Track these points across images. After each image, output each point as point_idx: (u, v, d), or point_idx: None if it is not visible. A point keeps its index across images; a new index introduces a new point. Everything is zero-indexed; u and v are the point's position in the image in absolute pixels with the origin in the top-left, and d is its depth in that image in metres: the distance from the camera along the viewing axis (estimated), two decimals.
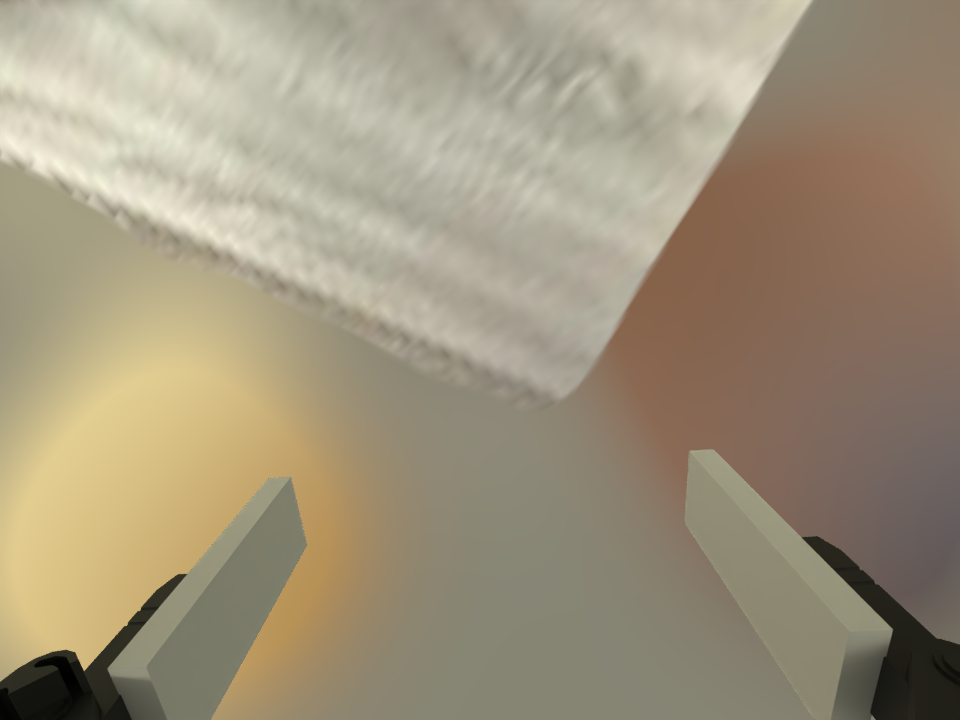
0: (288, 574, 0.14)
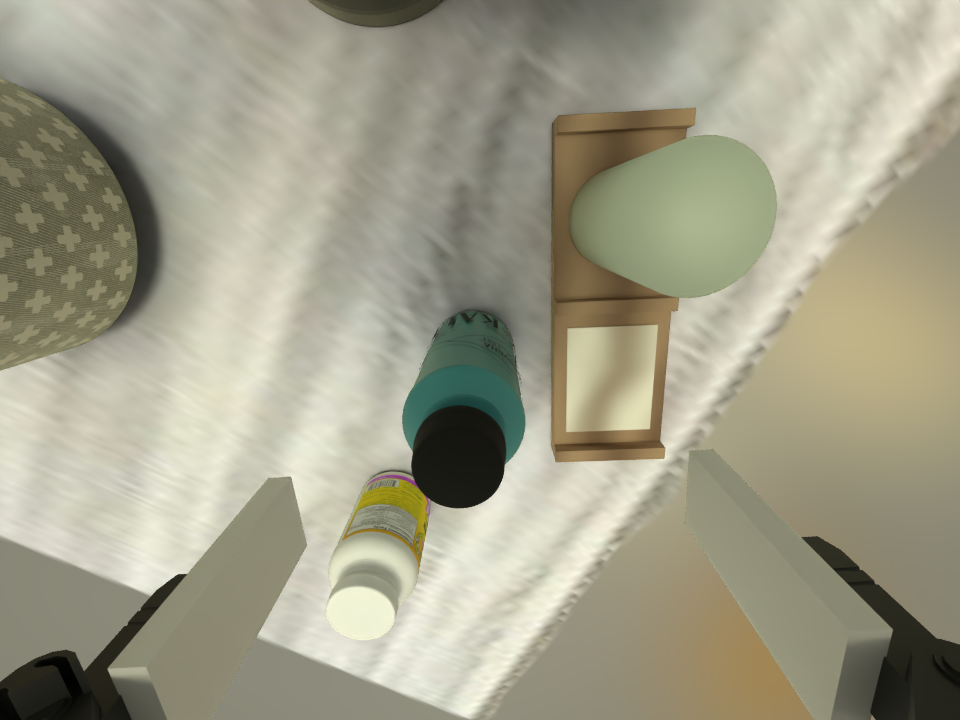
0: (288, 574, 0.14)
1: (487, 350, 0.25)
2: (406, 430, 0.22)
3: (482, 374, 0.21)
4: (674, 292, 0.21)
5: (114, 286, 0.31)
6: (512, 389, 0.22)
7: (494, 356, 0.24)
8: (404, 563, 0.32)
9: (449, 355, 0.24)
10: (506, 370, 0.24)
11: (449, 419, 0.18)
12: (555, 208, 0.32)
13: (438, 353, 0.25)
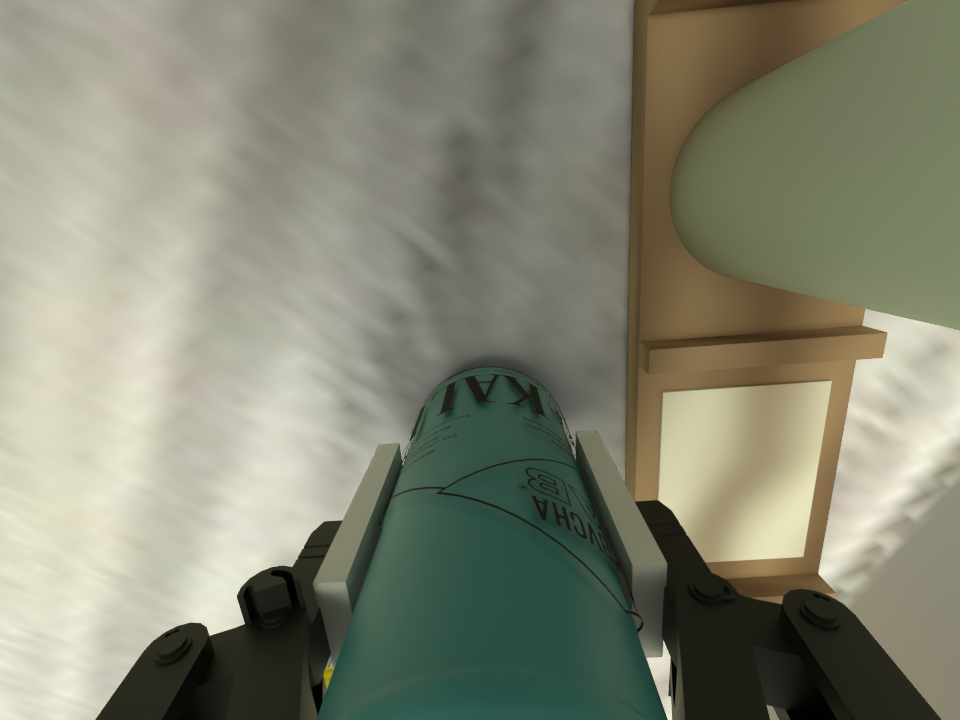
0: None
1: (545, 531, 0.09)
2: None
3: None
4: None
5: None
6: None
7: (568, 554, 0.09)
8: None
9: (438, 576, 0.08)
10: (612, 613, 0.08)
11: None
12: (644, 168, 0.17)
13: (411, 536, 0.09)
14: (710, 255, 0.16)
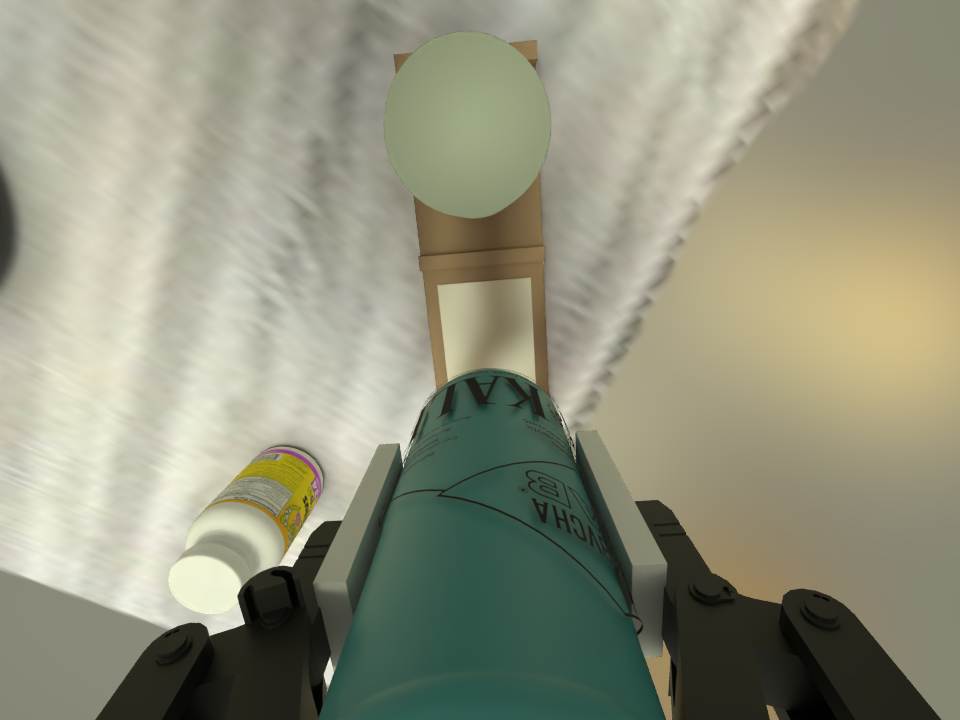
0: None
1: (545, 534, 0.09)
2: None
3: None
4: (457, 211, 0.20)
5: None
6: None
7: (568, 557, 0.09)
8: (262, 534, 0.30)
9: (439, 579, 0.08)
10: (612, 616, 0.08)
11: None
12: None
13: (411, 539, 0.09)
14: None
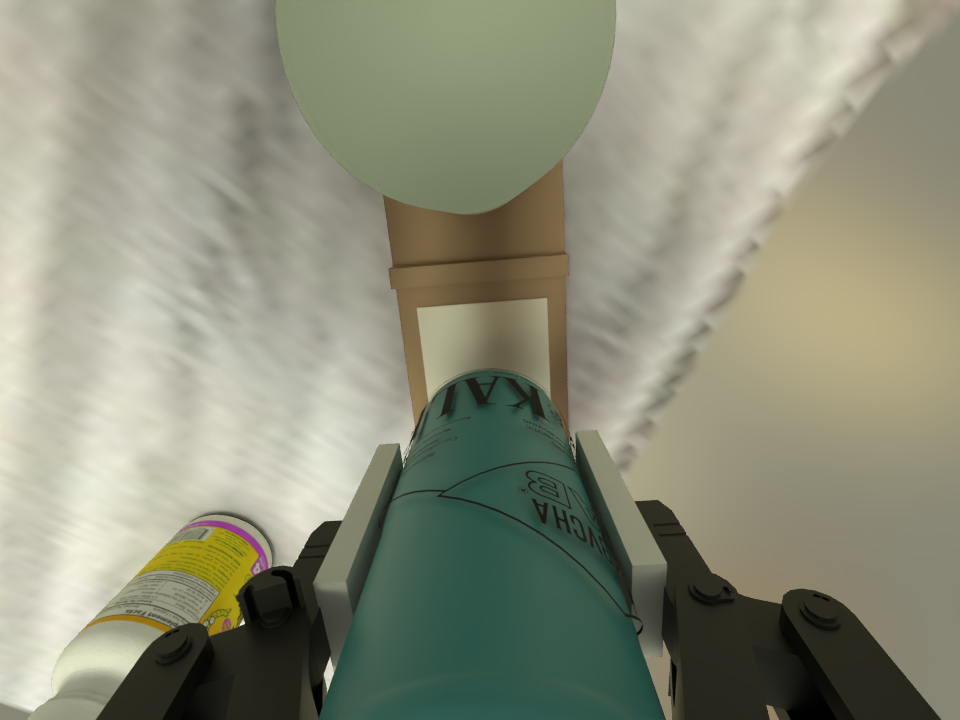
0: None
1: (545, 535, 0.09)
2: None
3: None
4: (429, 199, 0.10)
5: None
6: None
7: (568, 557, 0.09)
8: None
9: (439, 579, 0.08)
10: (612, 617, 0.08)
11: None
12: None
13: (411, 540, 0.09)
14: None
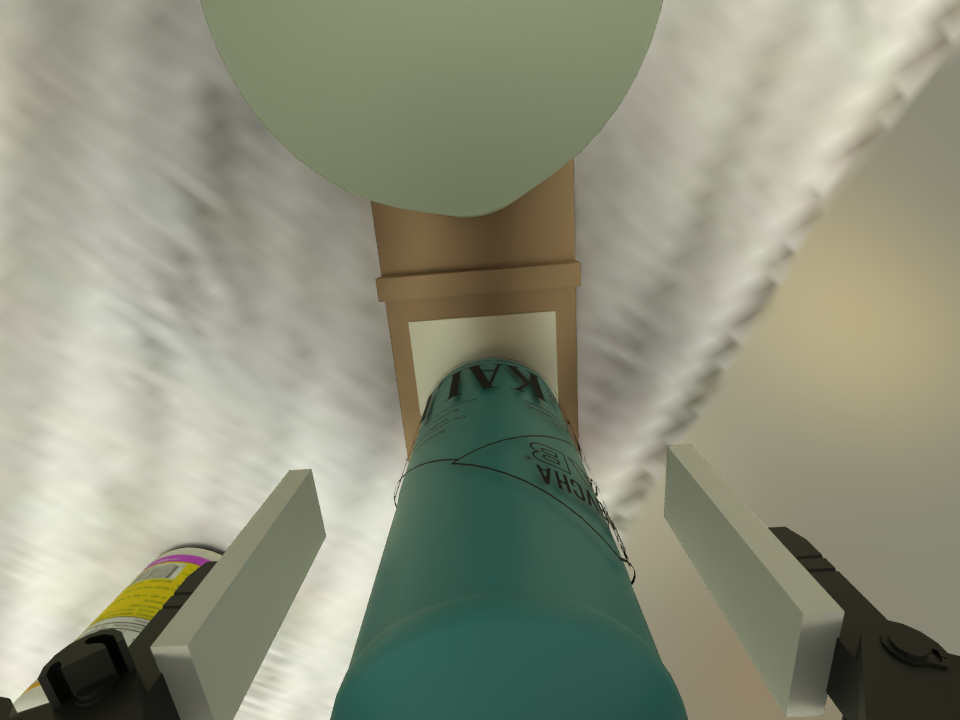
0: (309, 563, 0.14)
1: (549, 493, 0.10)
2: None
3: (570, 647, 0.07)
4: (409, 196, 0.07)
5: None
6: (659, 672, 0.07)
7: (569, 512, 0.10)
8: None
9: (457, 528, 0.09)
10: (608, 560, 0.09)
11: None
12: None
13: (429, 500, 0.10)
14: None
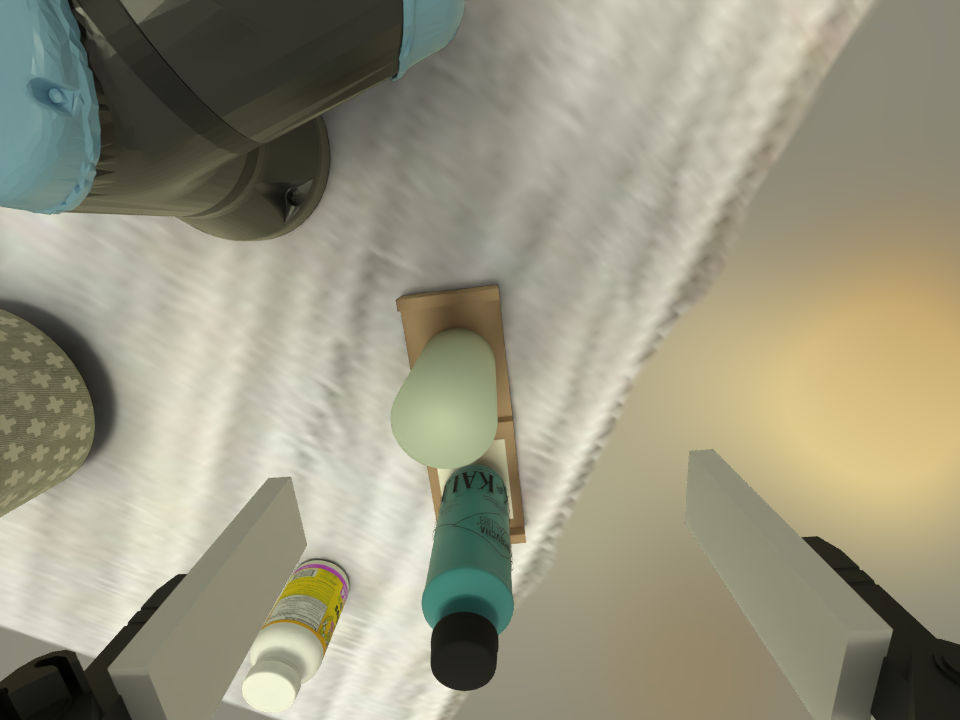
0: (288, 574, 0.14)
1: (482, 536, 0.32)
2: (425, 614, 0.30)
3: (478, 575, 0.29)
4: (440, 465, 0.30)
5: (76, 445, 0.41)
6: (501, 582, 0.29)
7: (488, 542, 0.32)
8: (307, 647, 0.41)
9: (453, 548, 0.31)
10: (497, 556, 0.31)
11: (455, 630, 0.26)
12: (409, 359, 0.42)
13: (445, 539, 0.33)
14: None
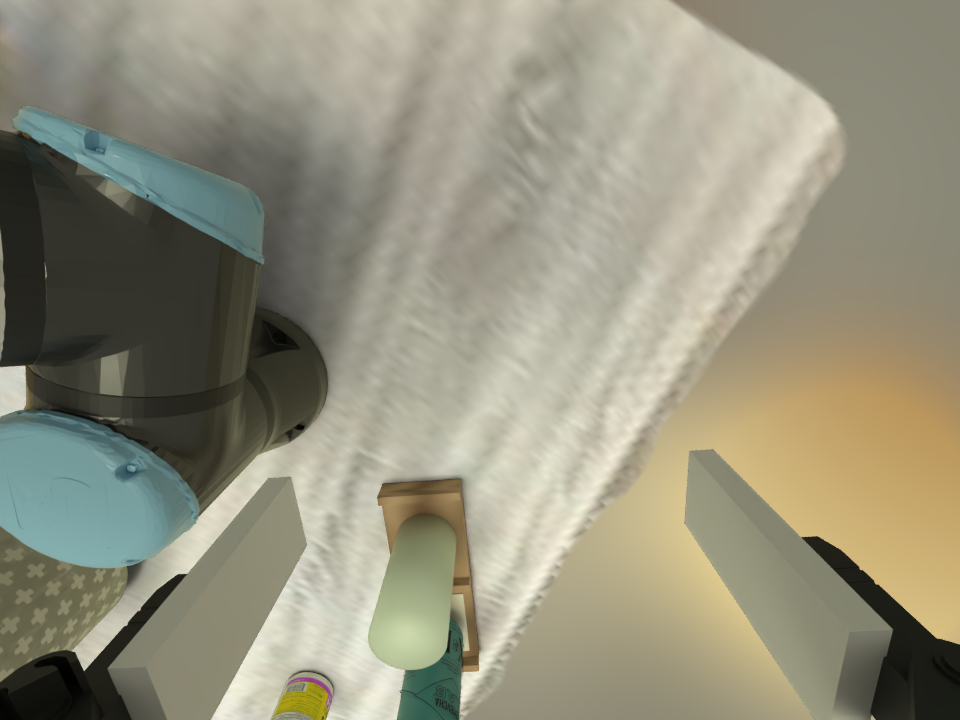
0: (288, 574, 0.14)
1: (436, 708, 0.43)
2: None
3: None
4: (404, 667, 0.40)
5: (113, 598, 0.50)
6: None
7: (440, 714, 0.42)
8: None
9: None
10: None
11: None
12: (387, 534, 0.52)
13: (408, 708, 0.43)
14: None
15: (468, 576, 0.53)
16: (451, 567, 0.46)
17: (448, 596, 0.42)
